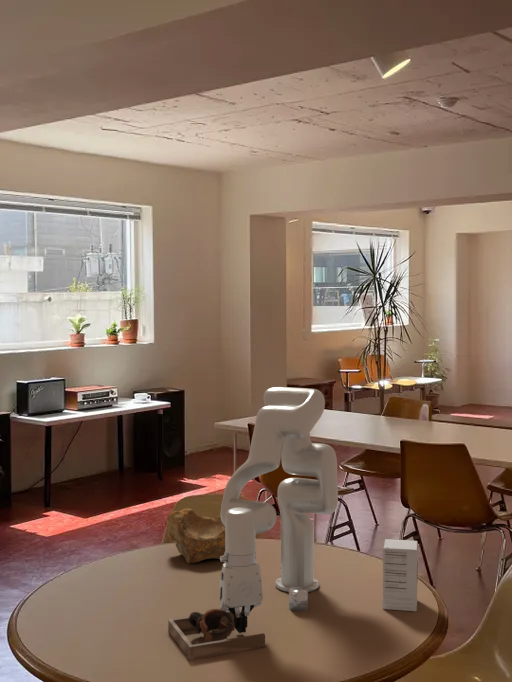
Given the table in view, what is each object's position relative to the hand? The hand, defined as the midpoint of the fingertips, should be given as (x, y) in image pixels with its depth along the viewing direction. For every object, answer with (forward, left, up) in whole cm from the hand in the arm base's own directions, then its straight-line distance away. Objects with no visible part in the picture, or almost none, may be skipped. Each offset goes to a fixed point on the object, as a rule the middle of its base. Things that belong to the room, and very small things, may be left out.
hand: (240, 630), depth 210 cm
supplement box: (-3, +48, -1) cm, 48 cm away
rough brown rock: (-62, +10, -1) cm, 63 cm away
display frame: (0, -6, -1) cm, 6 cm away
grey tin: (-11, +21, -1) cm, 24 cm away
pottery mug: (-1, -8, -1) cm, 8 cm away
